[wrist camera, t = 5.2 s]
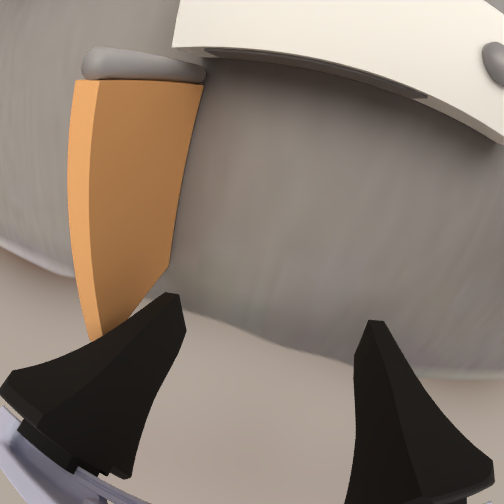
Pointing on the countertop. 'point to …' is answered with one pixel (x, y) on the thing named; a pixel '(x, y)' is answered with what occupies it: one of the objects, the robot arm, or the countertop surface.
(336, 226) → the countertop surface
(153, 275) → the side door
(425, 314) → the countertop surface
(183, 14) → the cream tapered panel
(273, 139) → the countertop surface
